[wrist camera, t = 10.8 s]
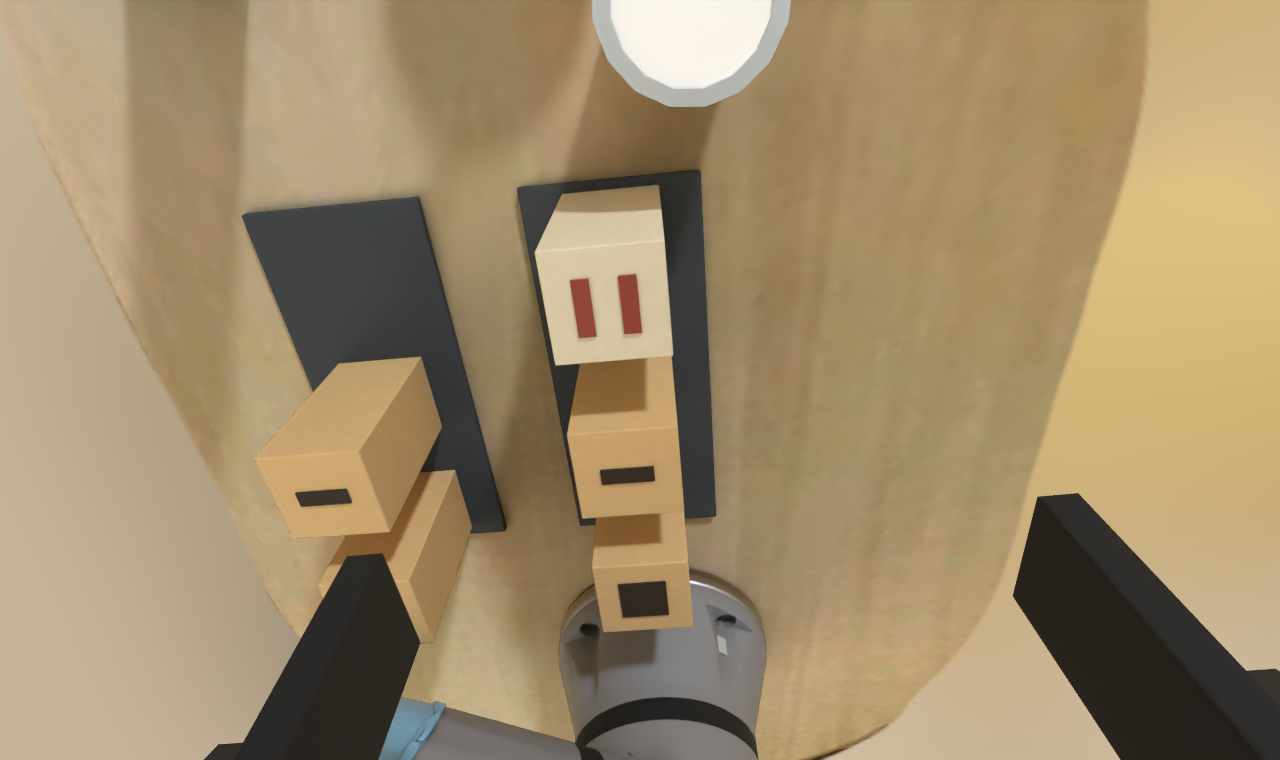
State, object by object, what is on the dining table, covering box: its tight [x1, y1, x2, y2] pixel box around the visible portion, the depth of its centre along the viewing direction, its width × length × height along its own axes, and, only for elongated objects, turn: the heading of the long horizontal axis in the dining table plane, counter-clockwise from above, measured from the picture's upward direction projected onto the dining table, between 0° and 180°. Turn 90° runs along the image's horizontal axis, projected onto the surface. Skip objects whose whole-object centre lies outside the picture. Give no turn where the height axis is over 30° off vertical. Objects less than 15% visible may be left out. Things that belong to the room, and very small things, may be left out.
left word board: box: [242, 197, 506, 644], centre depth 33 cm, size 22×9×10 cm, turn 5°
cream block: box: [535, 185, 673, 366], centre depth 28 cm, size 5×5×9 cm
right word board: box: [517, 170, 716, 632], centre depth 32 cm, size 22×9×10 cm, turn 5°
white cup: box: [592, 0, 791, 107], centre depth 24 cm, size 7×7×7 cm
